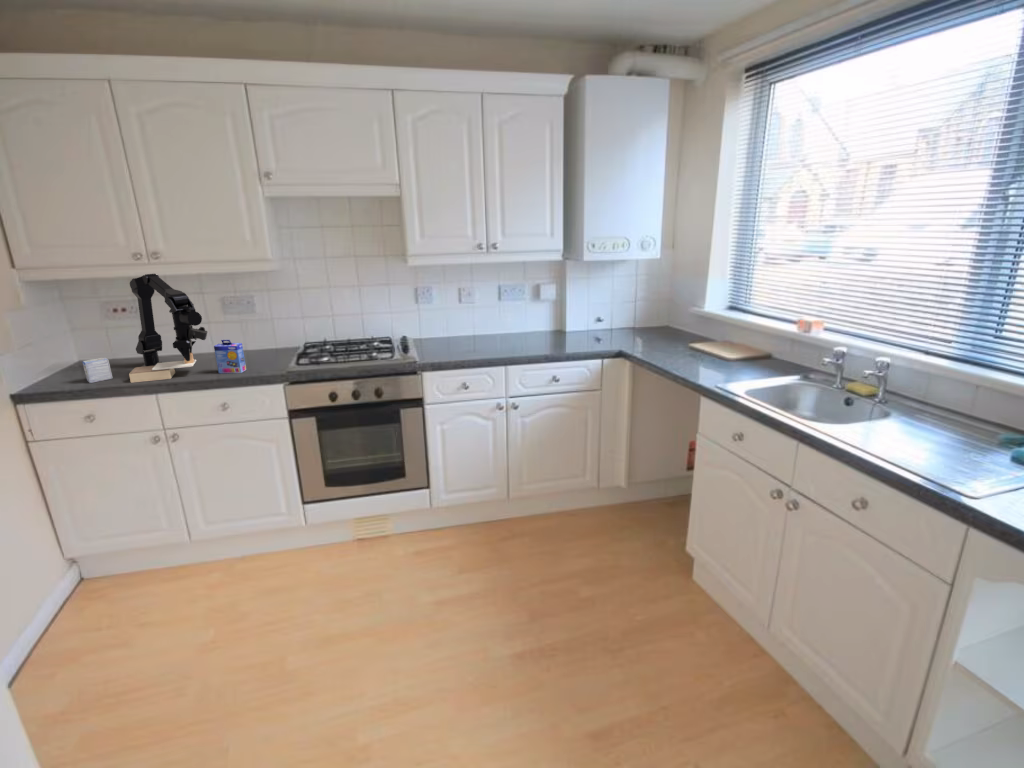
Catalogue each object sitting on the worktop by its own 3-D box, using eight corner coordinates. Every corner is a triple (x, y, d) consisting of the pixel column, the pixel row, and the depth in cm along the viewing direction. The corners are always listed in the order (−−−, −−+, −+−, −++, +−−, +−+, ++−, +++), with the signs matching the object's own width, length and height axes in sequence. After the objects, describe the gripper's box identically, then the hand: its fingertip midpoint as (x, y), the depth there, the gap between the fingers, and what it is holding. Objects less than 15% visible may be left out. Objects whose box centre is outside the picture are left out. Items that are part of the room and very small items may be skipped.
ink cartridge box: (217, 374, 229) (211, 340, 224) (223, 370, 234) (218, 337, 230) (241, 373, 229) (235, 340, 225) (247, 369, 234) (241, 337, 230)
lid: (157, 364, 228) (155, 353, 227) (196, 360, 233) (194, 350, 232) (152, 370, 219) (150, 359, 218) (192, 366, 224) (190, 355, 223)
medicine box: (109, 377, 226) (104, 357, 224) (113, 379, 223) (108, 358, 221) (87, 381, 220) (81, 361, 218) (90, 383, 218) (84, 362, 215)
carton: (137, 376, 226) (135, 367, 225) (175, 372, 231) (173, 363, 230) (130, 382, 218) (128, 373, 216) (170, 378, 222) (168, 369, 221)
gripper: (200, 325, 218) (207, 363, 222) (206, 318, 234) (213, 353, 239) (169, 328, 214) (176, 366, 218) (177, 320, 230) (184, 356, 235)
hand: (189, 360), depth 228 cm, fingers open, 3 cm apart
